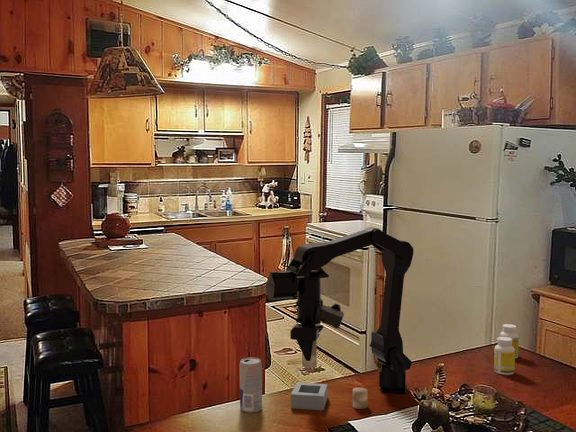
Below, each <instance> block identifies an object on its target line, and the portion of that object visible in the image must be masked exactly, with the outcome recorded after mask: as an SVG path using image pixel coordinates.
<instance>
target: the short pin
mask: <svg viewBox="0 0 576 432" xmlns="http://www.w3.org/2000/svg"><path fill="white" fill-rule="evenodd" d="M352 407H353V408H354V409H357V410H364V409H367V408H368V389H367V388H365V387H354V388H352Z"/></svg>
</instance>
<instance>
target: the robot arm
mask: <svg viewBox="0 0 576 432" xmlns="http://www.w3.org/2000/svg"><path fill="white" fill-rule="evenodd" d="M370 246H372V247H374V248H375V250H378V251H379V252H381V263H382V265H383V266H382V267H383V269H384V272H385V274H384V283H383V284H384V286H383V294H382V295H383V296H382V305H381V306H382V307H381V316H380V324H379V327H378V329H377V331H371V333H370V335H371V336H370V339H371V340H370V343H369V347H370V348H371V353H372V354H373V356H375V357H376V360H377V362H378V363H380V364H381V368H379V372H378V373H379V374H378V376H379V377H378V387H379V388H380V392H383V393H396V394H398V393H399V394H406V393H407V381H406V379H407V378H406V376H407V372H406V371H408V370H410V369H411V366H412V362H413V361H412V360H411V359H410V358H409V357H408V356H407V355H406V354H404V341H403V338H402V335H401V332H400V320H401V310H402V302H403V293H404V292H403V290H404V280H405V275H406V273H407V272H408V270H409V269H410V267H411V265H412V263H413V262H412V261H413V256H414V251H415V250H414V246H412V245H411V243H410V242H408V241H406V240H401V239H398V238H395V237H393V236H391V235H389V234H388V233H386V232H384V231H382V230H381V229H380V228H377V227H371V226H369V227H366V228H364V229H362V230H360V231H356V232H353V233H351V234H348V235H345V236H342V237H338V238H335V239H333V240H329V241H325V242H324V241H323V242H312V243H306V244H301V245H299V246H298V247H297V248H296V249H295V251H294V254H293V258H292V259H291V261H290V262H289V264H288V265H287V267H286V269H285V270H282V271H278V270H276V271H275V270H270V271H269V276H268V278H267V280H266V283H265V290H266V295H267V298H268V299H269V300H270V301H272V300H273V301H274V300H287V299H294V298H295V296H297V300H296V302H295V306H296V307H297V317H296V318H295V323H296V324H294V325H293V326H292V328H291V329H290V330H289V331H290V336H289V337H290V340H292V341H293V340H295V341H296V342H297V344H298V347H299V349H300V351H301V353H303V355H304V357H305V359H306V361H310V360H311V355H312V349H313V343H314V341H315V340H316V341H317V340H318V338H319V337H320V335H321V334H320V332H321V331H323V328H324V327H325V326H324V325H322V324H325V325H328V326H331V327H332V328H334V329H340V327H341V323H342V320H343V318H344V315H345V312H344V311H343V310H342V308H341V305H340V304H338V303H333V304H332V305H331V306H330V305H328V306H327V305H325V304H324V299H322V296H321V295H322V293H321V292H322V290H321V289H322V287H321V285H322V284H321V279H325V278H327V279H328V278H329V276H330V275H329V274H328V273H327V272H325V270H324V268H323V267H324V266H325V267H326V265H328V264H329V263H330V262H332V260H334V259H335V258H338V257H340V256H344V255H346V254H349V253H352V252H355V251H358V250H361V249H363V248H367V247H370Z"/></svg>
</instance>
